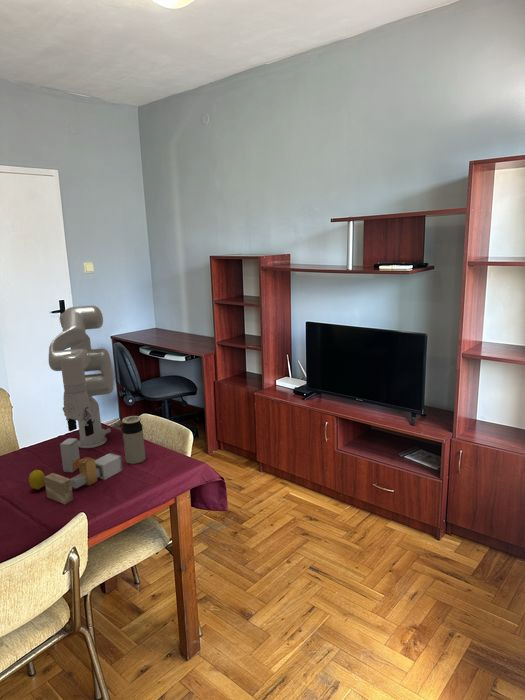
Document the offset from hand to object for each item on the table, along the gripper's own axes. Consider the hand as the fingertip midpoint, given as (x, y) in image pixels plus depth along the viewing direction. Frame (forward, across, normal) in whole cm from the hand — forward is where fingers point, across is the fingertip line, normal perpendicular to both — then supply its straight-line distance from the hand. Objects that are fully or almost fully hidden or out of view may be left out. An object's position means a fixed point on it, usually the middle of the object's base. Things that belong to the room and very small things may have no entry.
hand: (81, 432), depth 182 cm
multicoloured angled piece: (+20, 0, +3) cm, 21 cm away
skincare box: (+21, -16, +5) cm, 27 cm away
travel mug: (+21, 0, +23) cm, 31 cm away
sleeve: (+21, 0, +10) cm, 23 cm away
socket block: (+21, 0, -12) cm, 24 cm away
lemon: (+21, -13, -12) cm, 27 cm away
